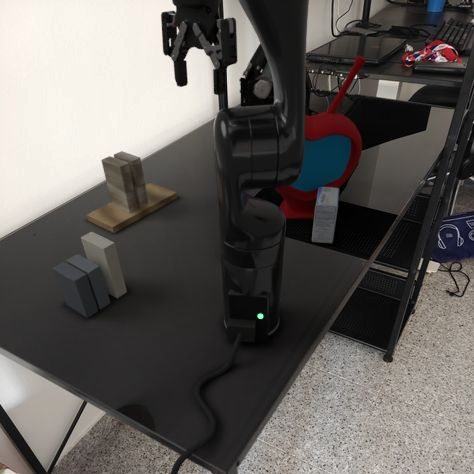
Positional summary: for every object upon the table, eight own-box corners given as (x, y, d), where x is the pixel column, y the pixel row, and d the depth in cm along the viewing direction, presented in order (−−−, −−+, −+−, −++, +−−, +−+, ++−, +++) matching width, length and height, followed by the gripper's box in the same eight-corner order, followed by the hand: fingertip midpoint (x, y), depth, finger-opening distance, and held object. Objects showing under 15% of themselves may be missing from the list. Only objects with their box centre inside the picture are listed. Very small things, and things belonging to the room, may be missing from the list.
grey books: (89, 290, 80) (77, 253, 74) (110, 302, 77) (99, 265, 72) (66, 304, 77) (51, 267, 71) (87, 318, 75) (74, 281, 69)
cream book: (105, 280, 82) (91, 231, 75) (127, 292, 79) (114, 242, 72) (95, 286, 81) (80, 237, 73) (117, 298, 78) (103, 248, 71)
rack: (151, 188, 109) (143, 138, 100) (177, 198, 105) (171, 147, 96) (87, 220, 98) (72, 168, 89) (114, 233, 94) (100, 179, 85)
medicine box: (332, 244, 89) (338, 205, 83) (310, 242, 90) (315, 203, 84) (334, 225, 95) (340, 187, 89) (313, 223, 95) (318, 185, 89)
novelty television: (257, 222, 96) (260, 65, 75) (258, 195, 105) (261, 48, 83) (351, 223, 95) (382, 64, 74) (344, 195, 104) (369, 47, 83)
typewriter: (338, 182, 109) (356, 67, 91) (233, 176, 112) (230, 64, 94) (339, 137, 130) (354, 36, 112) (251, 133, 134) (251, 35, 116)
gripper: (142, -36, 65) (156, 87, 76) (216, -33, 58) (218, 101, 70) (177, -37, 69) (184, 79, 80) (248, -34, 63) (246, 92, 74)
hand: (200, 89), depth 75 cm, fingers open, 8 cm apart
